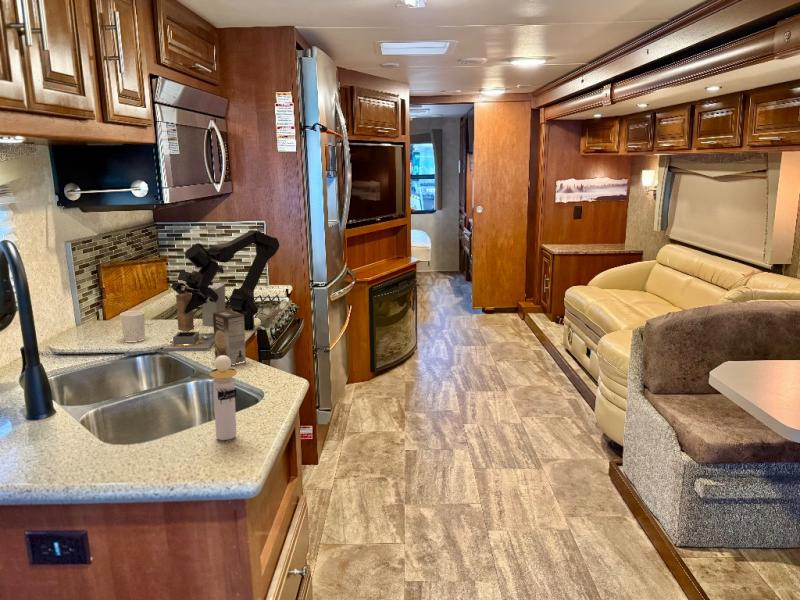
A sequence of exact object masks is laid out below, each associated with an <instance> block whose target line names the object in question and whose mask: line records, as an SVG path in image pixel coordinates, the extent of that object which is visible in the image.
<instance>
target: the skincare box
mask: <svg viewBox="0 0 800 600" xmlns="http://www.w3.org/2000/svg"><path fill="white" fill-rule="evenodd" d="M209 287H210V288H212V289H213V290H214V291H215V292H216V293H217V294H218V298H219V299H218V300H217V302H216V303H214V302H210V300H209V299H210V297H209V298H208V299H207V300H206V301H207V303H204V304H203V305H201V309H202V312H201V313H202V314H201V315H202V316H201V318H202V319H201V321H202V323H201V324H202V326H209V327H214V326H213V313H214V312H219V311H225V310H226V283H225V284H224V283H216V282H213V285H212V286H211V285H209Z"/></svg>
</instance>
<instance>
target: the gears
mask: <svg viewBox="0 0 800 600" xmlns="http://www.w3.org/2000/svg"><path fill="white" fill-rule="evenodd" d="M199 334H200V335H199ZM172 338H173V341H170V340H169V341H170V343H172V344H171V346H172V347H175V346H178V347H181V348H185V347H189V346H194V347H195V346H198V344H199V343H204V341H200V340H202V339H207V340H210V338H214V332H210V333H204V332H202V333H201V332H199V331H186V332H185V331H178V332H177V333H176V334H175V335H173V337H172Z"/></svg>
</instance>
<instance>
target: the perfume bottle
mask: <svg viewBox="0 0 800 600" xmlns="http://www.w3.org/2000/svg"><path fill="white" fill-rule="evenodd" d="M213 364H214V368H215V369H212V370H210V372H209V376H210V377H211V378H213V381H212V382H213V383H212V384H213V385H212V386H213V387H212V388H213V403H214V404H213V405H214V421H215V423H214V424H215V438H216V439H218V440H221V441H222V440H223V441H224V440H225V441H226V440H231V439H234V438H235V437H236V436H237V419H236V417H237V416H236V397H238V396H237V388H235V379H234V378H233V377H235V376H236V375H237V371H238V370H237V369H235V368H233V367H232V366H231V360H230V358H229V357H228V356H225V355H221V356H218V357H217V358H216V360H215V359H214V363H213Z"/></svg>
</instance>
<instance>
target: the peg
mask: <svg viewBox="0 0 800 600" xmlns="http://www.w3.org/2000/svg"><path fill="white" fill-rule="evenodd" d="M191 298H192V294H188V293H182V294H178V293H177V294H175V299H176V300H175V301H176V313H177V314H176V316H177V328H178V330H177V331H180V332H190V331H193V330H194V329H195V327H194V312H193V311H194V310H192V311H190V312H189V313H187V314H186V313H185V312H184V311H185V309H186V307H187V305H188V304H189V302H190V300H191Z"/></svg>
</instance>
